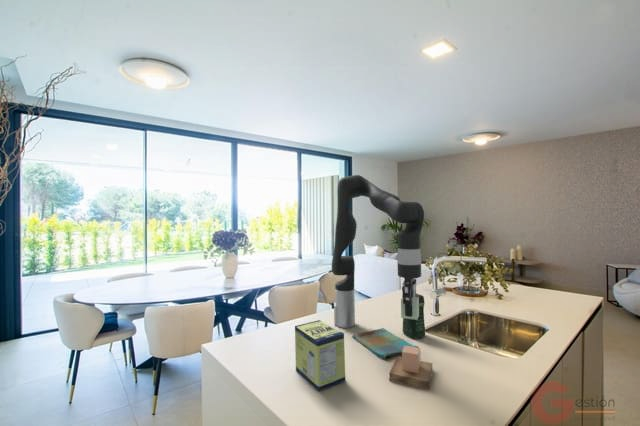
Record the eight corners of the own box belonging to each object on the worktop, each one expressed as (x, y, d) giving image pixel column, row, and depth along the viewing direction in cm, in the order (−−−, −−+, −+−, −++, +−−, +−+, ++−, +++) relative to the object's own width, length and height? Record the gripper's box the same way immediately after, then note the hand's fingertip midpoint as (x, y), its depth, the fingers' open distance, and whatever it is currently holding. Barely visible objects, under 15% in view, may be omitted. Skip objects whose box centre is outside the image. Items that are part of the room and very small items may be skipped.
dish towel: (383, 362, 108) (383, 355, 108) (351, 338, 129) (350, 332, 129) (420, 352, 115) (420, 346, 115) (383, 331, 136) (383, 326, 136)
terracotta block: (402, 370, 97) (401, 351, 97) (404, 363, 101) (404, 345, 101) (418, 373, 95) (417, 354, 95) (420, 365, 99) (419, 348, 99)
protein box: (320, 361, 108) (319, 319, 108) (346, 381, 95) (345, 333, 95) (294, 370, 103) (293, 325, 103) (318, 392, 90) (317, 341, 90)
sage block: (401, 317, 97) (400, 299, 97) (403, 313, 101) (403, 295, 101) (417, 319, 95) (416, 300, 95) (419, 314, 99) (418, 296, 99)
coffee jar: (428, 337, 127) (427, 294, 127) (413, 340, 124) (412, 296, 124) (414, 329, 136) (413, 289, 136) (399, 332, 133) (398, 291, 134)
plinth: (389, 380, 95) (389, 373, 95) (396, 363, 106) (396, 356, 106) (429, 389, 90) (428, 381, 90) (432, 370, 101) (432, 363, 101)
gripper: (418, 266, 90) (419, 322, 90) (423, 259, 103) (424, 308, 103) (393, 264, 93) (394, 319, 93) (401, 258, 106) (402, 305, 106)
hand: (410, 313), depth 98 cm, fingers closed on sage block, 5 cm apart
